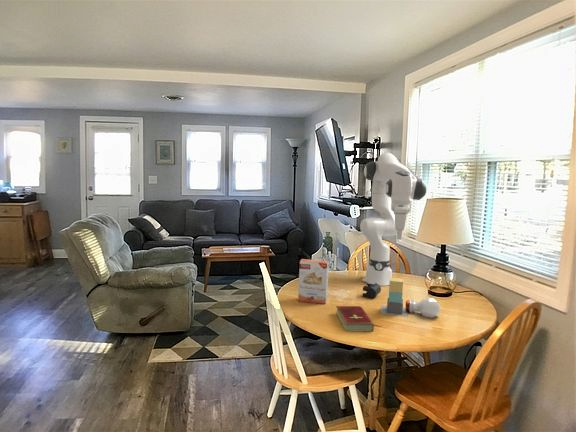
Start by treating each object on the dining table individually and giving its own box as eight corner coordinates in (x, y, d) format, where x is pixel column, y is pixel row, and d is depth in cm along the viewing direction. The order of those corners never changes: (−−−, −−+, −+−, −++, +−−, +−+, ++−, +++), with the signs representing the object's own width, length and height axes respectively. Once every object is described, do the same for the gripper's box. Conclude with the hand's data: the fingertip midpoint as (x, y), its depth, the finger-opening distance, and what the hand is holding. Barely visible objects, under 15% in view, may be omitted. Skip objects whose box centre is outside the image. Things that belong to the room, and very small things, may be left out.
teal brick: (388, 297, 196) (389, 287, 195) (401, 299, 194) (402, 289, 194) (388, 301, 190) (389, 291, 190) (401, 303, 189) (402, 292, 188)
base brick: (387, 307, 197) (387, 297, 197) (402, 309, 195) (402, 299, 195) (386, 312, 190) (387, 302, 190) (402, 314, 189) (402, 303, 188)
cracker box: (297, 301, 205) (299, 261, 202) (300, 298, 211) (301, 258, 208) (325, 304, 202) (327, 263, 199) (327, 300, 208) (328, 260, 205)
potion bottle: (440, 324, 185) (407, 320, 193) (443, 306, 191) (411, 304, 199) (436, 311, 180) (402, 308, 188) (440, 293, 186) (407, 291, 194)
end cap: (375, 301, 209) (376, 288, 208) (362, 299, 213) (362, 286, 212) (380, 296, 218) (381, 283, 217) (367, 293, 221) (368, 281, 221)
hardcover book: (361, 314, 191) (361, 305, 191) (373, 332, 171) (374, 322, 170) (335, 314, 191) (336, 305, 190) (345, 332, 170) (345, 322, 169)
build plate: (382, 307, 200) (382, 305, 200) (407, 310, 197) (407, 308, 197) (380, 315, 189) (380, 313, 189) (407, 318, 186) (408, 316, 186)
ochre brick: (389, 287, 195) (389, 277, 195) (402, 289, 194) (402, 278, 193) (388, 291, 190) (389, 280, 189) (402, 292, 188) (403, 282, 188)
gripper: (394, 205, 198) (392, 233, 199) (393, 209, 178) (391, 240, 180) (407, 205, 196) (406, 234, 198) (408, 210, 176) (406, 241, 178)
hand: (399, 237), depth 189 cm, fingers open, 8 cm apart
